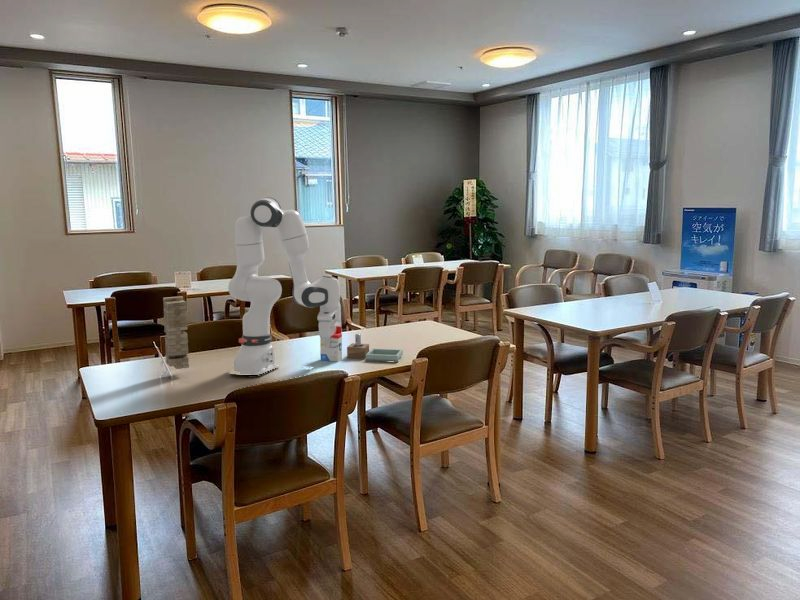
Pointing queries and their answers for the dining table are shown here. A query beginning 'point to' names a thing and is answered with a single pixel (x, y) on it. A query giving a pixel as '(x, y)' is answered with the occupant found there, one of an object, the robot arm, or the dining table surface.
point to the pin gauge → (358, 340)
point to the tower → (176, 332)
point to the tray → (384, 355)
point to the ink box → (332, 347)
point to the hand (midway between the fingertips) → (331, 344)
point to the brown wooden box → (357, 351)
